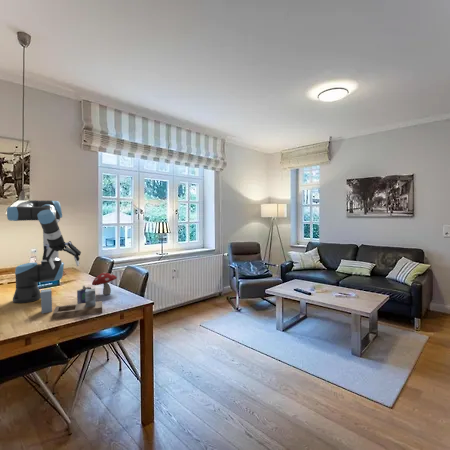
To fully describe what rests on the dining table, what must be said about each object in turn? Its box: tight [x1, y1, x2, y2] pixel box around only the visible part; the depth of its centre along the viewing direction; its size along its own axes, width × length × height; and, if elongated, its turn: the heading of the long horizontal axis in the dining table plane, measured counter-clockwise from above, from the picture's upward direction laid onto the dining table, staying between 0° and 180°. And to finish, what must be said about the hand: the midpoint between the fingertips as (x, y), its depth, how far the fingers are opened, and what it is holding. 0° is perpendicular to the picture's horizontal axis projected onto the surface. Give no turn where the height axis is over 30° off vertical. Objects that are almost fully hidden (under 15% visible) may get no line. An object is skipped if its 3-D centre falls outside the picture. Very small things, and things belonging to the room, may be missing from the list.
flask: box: [76, 285, 92, 304], centre depth 176 cm, size 9×3×11 cm, turn 151°
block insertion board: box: [52, 288, 103, 320], centre depth 160 cm, size 24×12×12 cm, turn 114°
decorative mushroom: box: [91, 272, 118, 295], centre depth 194 cm, size 16×16×15 cm
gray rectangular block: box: [40, 288, 53, 314], centre depth 161 cm, size 5×5×12 cm
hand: (66, 266), depth 167 cm, fingers open, 13 cm apart
